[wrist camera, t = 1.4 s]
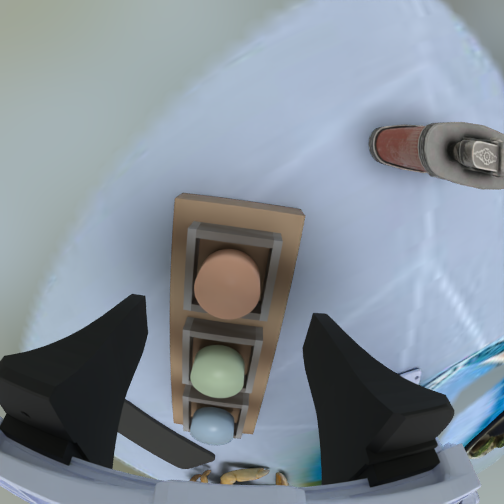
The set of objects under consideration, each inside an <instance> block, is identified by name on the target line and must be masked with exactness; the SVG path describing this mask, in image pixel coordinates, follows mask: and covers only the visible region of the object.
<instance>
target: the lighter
mask: <svg viewBox="0 0 504 504" xmlns="http://www.w3.org/2000/svg"><path fill="white" fill-rule="evenodd" d="M369 150H370V153H371V155H372V157H373V158H374V159H375V160H376V161H377V162H379V163H381V164H385V165H388V166H392V167H395V168H399V169H403V170H409V171H415V172H421V173H428V174H429V175H430V176H432V177H436V178H440V179H444V180H448V181H451V182H454V183H457V184H460V185H465V186H469V187H474V188H478V189H504V134H502V133H500V132H498V131H496V130H493V129H491V128H488V127H486V126H483V125H478V124H472V123H465V122H448V123H432V124H429V125H426V126H418V125H395V126H385V127H379V128H376V129H375V130H374V131H373V132H372V133H371V136H370V138H369Z"/></svg>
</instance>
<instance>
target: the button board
mask: <svg viewBox="0 0 504 504" xmlns="http://www.w3.org/2000/svg"><path fill="white" fill-rule="evenodd" d="M304 220H305V215H304V214H303V212H302V211H301V209H296V208H290V207H284V206H277V205H271V204H264V203H257V202H250V201H243V200H236V199H229V198H221V197H213V196H205V195H197V194H188V193H182V194H180V195H179V196H177V197H176V198H175V204H174V218H173V233H172V252H171V279H170V361H171V387H172V405H173V419H174V423H176V424H182V425H183V431H188V432H190V429H191V424H192V419H193V414H194V412H195V411H196V410H198V409H200V408H203V407H216V408H221V409H223V410H226V411H228V412H229V413H230V414H231V415H232V416H233V417H234V433H233V438H237V439H241V436H242V433H245V434H253V432H254V429H255V425H256V422H257V418H258V415H259V411H260V407H261V404H262V400H263V396H264V393H265V389H266V385H267V382H268V378H269V374H270V370H271V366H272V362H273V358H274V354H275V350H276V346H277V342H278V338H279V334H280V330H281V326H282V322H283V318H284V313H285V309H286V305H287V300H288V296H289V291H290V287H291V283H292V278H293V273H294V269H295V264H296V259H297V255H298V250H299V245H300V240H301V235H302V230H303V225H304ZM222 249H235V250H239V251H242V252H244V253H246V254H247V255H249V256H250V257H251V258H252V259H253V260H254V261H255V263H256V265H257V266H258V269H259V273H260V298H259V301H258V303H257V305H256V307H255V308H254V309H253V310H252V311H251V312H250V313H248V314H247V315H245V316H243V317H240V318H237V319H221V318H217V317H215V316H212V315H210V314H209V313H207V312H206V311H205V310H204V309H203V308H202V307H201V306H200V305H199V303H198V302H197V299H196V297H195V293H194V284H195V280H196V278H197V275H198V273H199V271H200V268H201V266H202V264H203V262H204V261H205V259H206V258H207V257H208V256H209V255H211V254H212V253H214V252H216V251H218V250H222ZM210 345H223V346H227V347H230V348H232V349H234V350H236V351H237V352H238V353H239V354H240V355H241V356H242V358H243V360H244V363H245V368H244V385H243V388H242V389H241V391H240V392H239V393H237V394H236V395H234V396H231V397H227V398H214V397H210V396H207V395H204V394H202V393H201V392H199V391H198V390H197V389H196V388H195V387H194V386H193V385H192V383H191V379H190V376H191V371H192V367H193V364H194V360H195V356H196V354H197V353H198V351H200V350H201V349H202V348H204V347H206V346H210Z"/></svg>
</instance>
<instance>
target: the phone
mask: <svg viewBox="0 0 504 504" xmlns="http://www.w3.org/2000/svg"><path fill="white" fill-rule="evenodd" d="M118 432H119V433H120V434H122V435H123V436H125V437H126V438H128V439H129V440H131V441H133V442H134V443H136V444H137V445H139V446H141V447H142V448H144V449H146V450H147V451H149V452H151V453H152V454H154V455H156V456H158V457H159V458H161V459H163V460H165V461H167V462H169V463H170V464H172V465H174V466H176V467H178V468H181V469H189V468H193V467H196V466H199V465H203V464H206V463H209V462H212V461H214V460H215V455H214V454H213V453H212V452H210V451H208V450H206V449H204V448H203V447H201V446H199V445H197V444H195V443H193V442H192V441H190V440H188V439H187V438H185V437H183V436H181V435H180V434H178V433H176V432H175V431H173V430H171V429H170V428H168V427H166V426H165V425H163V424H162V423H160V422H159V421H157V420H155V419H154V418H152V417H151V416H149V415H148V414H146V413H145V412H143V411H142V410H141V409H139V408H138V407H136V406H135V405H133V404H132V403H131V402H129V401H128V400H126V399H125V400H124V404H123V408H122V413H121V417H120V422H119V427H118Z"/></svg>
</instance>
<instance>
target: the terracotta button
mask: <svg viewBox="0 0 504 504" xmlns="http://www.w3.org/2000/svg"><path fill="white" fill-rule="evenodd" d="M194 293H195V297H196V299H197V302H198V303H199V305H200V306H201V307H202V308H203V309H204V310H205V311H206V312H207V313H209V314H210V315H212V316H215V317H217V318H221V319H237V318H240V317H243V316H245V315H247V314H248V313H250V312H251V311H252V310H253V309H254V308H255V307H256V305H257V303H258V301H259V298H260V273H259V269H258V266H257V265H256V263H255V261H254V260H253V259H252V258H251V257H250V256H249V255H247V254H246V253H244V252H242V251H239V250H235V249H222V250H218V251H216V252H214V253H212V254H211V255H209V256H208V257H207V258H206V259H205V261H204V262H203V264H202V266H201V268H200V271H199V273H198V275H197V278H196V280H195V284H194Z"/></svg>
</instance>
